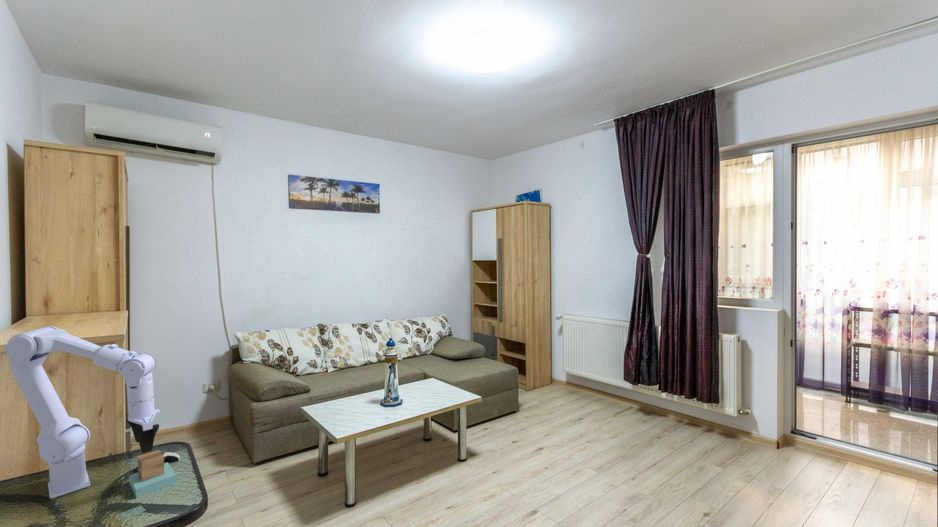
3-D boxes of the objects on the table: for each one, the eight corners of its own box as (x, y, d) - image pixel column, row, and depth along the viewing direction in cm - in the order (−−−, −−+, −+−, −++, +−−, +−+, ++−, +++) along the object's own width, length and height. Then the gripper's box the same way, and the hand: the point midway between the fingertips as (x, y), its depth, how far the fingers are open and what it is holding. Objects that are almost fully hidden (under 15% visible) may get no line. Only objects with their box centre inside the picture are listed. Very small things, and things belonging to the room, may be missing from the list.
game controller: (150, 475, 122) (139, 458, 123) (142, 485, 124) (130, 468, 125) (182, 457, 131) (171, 442, 132) (174, 467, 133) (163, 451, 134)
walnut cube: (137, 473, 120) (137, 456, 119) (159, 466, 123) (159, 449, 123) (142, 481, 116) (141, 463, 116) (164, 473, 120) (163, 456, 120)
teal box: (129, 485, 120) (128, 475, 119) (168, 471, 126) (167, 462, 126) (136, 500, 113) (135, 489, 113) (176, 484, 120) (176, 474, 120)
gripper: (164, 402, 116) (167, 450, 118) (152, 387, 126) (155, 432, 127) (131, 410, 111) (135, 460, 112) (122, 394, 121) (125, 440, 122)
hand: (143, 446), depth 120 cm, fingers open, 7 cm apart
